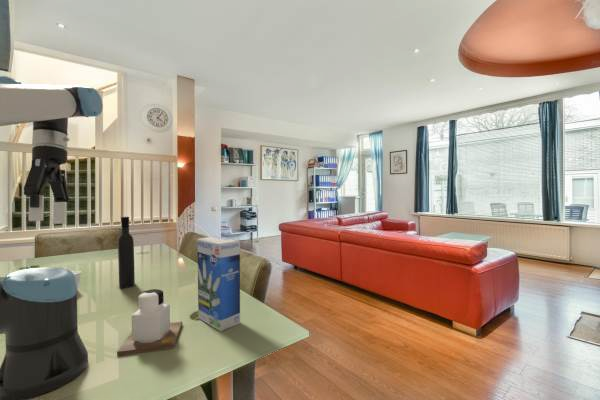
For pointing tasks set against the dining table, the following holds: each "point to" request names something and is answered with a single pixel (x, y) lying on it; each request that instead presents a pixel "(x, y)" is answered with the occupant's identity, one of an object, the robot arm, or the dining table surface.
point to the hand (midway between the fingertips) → (48, 222)
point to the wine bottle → (126, 256)
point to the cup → (77, 277)
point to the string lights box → (219, 282)
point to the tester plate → (151, 342)
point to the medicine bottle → (151, 317)
